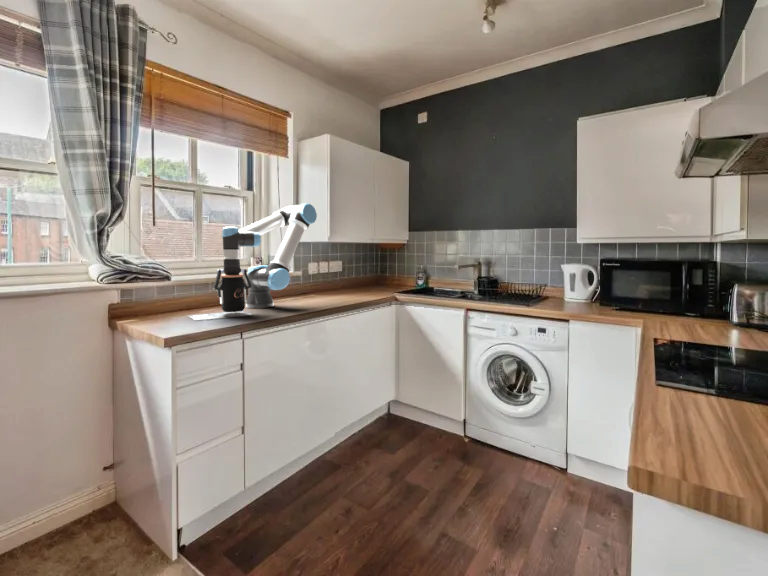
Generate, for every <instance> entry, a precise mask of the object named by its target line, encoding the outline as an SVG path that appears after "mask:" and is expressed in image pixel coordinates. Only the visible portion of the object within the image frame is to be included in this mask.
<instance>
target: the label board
mask: <svg viewBox="0 0 768 576" xmlns="http://www.w3.org/2000/svg"><path fill="white" fill-rule="evenodd" d="M247 316H253V314H252V313H249V312H246V311H244V310H243V311H239V312H224V311H223V312H214V313H213V312H212V313H211V312H210V313H202V314H191V315H189V314H188V315H187V317H188V318H190V319H192V321H195V322H196V321H197V322H198V321H199V322H200V321H207V320H209V321H210V320H217V319H226V318H237V317H238V318H239V317H247Z"/></svg>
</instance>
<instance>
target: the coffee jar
mask: <svg viewBox="0 0 768 576" xmlns="http://www.w3.org/2000/svg"><path fill="white" fill-rule="evenodd" d="M244 282H245V278H244V275H243V273H242V274H241V273H239V275H225V274H221V277H220V283H223V287H222V289H221V290H222V291H223V304H221V310H222V311H223V312H239V311H244V310H245V309H246V302H245V298H244Z"/></svg>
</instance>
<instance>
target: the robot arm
mask: <svg viewBox="0 0 768 576" xmlns="http://www.w3.org/2000/svg"><path fill="white" fill-rule="evenodd" d="M316 211H317V210H316V208H315V207H314V205H312V204H311V203H308V202H307V203H304V202H303V203H300V204H298V203H297V204H290V205H286V206H285V207H283V208H280V209H278V210H277V211H274V212H273V213H272V215H270V216H267V217H265V218H262V219H260V220H259V221H256V222H254V223H251V224H250V225H247V226H245V227H243V228H240V229H239V228H238V227H237V226H236V227H235V226H225V227H223V228H222V231H221V232H222V235H221V237H222V252H223V254H222V255H223V258H224V259H223V269H217V270H216V278H215V280H214V284H213V288H212V289H213V290H216V292H217V297H218V298H219V304H220V305H222V304H223V291H222V290H221V289H222V287H223V283H221V275H223V273H224V275H239V274H241V273H242V274H243V275H244V276H243V279H244V298H245V308H249V309H265V308H271V307H274V305H275V304H274V300H273V297H272V294H271V290H272V291H281V290H283V289H285V288H286V287H287V286H288V285H289V283H290V281H291V277H290V276H291V274H290V268H289V266H290V263H291V261H292V259H293V257H294V254H295V252H296V249H297V248H298V245H299V243H300V241H301V239H302V236H303V234H304V232H305V231H308V229H309V227H310V225H311V224H314V223H315V222H316V221H317V215H318V213H317V212H316ZM285 226H286V227H287V226H288V227H287V229H286V232H285V235H284V237H283V239H282V241H281V243H280V245H279V248H278V250H277V252H276V254H275V256H274V259H273V260H271V261H269V263H268V265H255V266H254V265H253V266H250V267H248V270H247V269H246V268H241V259H240V257H241V255H240V253H241V252H240V247H241V248H246V247H247V248H248V247H249V248H250V247H251V248H255V247H259V246H260V245H261V243H262V235H265V234H267V233H269V232H271V231H273V230H276V229H278V228H284V227H285Z"/></svg>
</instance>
